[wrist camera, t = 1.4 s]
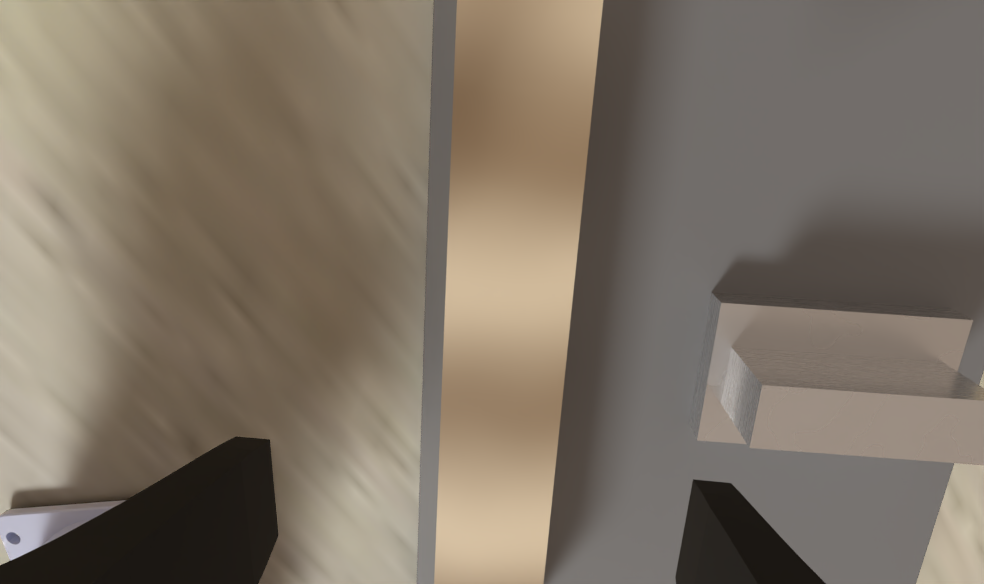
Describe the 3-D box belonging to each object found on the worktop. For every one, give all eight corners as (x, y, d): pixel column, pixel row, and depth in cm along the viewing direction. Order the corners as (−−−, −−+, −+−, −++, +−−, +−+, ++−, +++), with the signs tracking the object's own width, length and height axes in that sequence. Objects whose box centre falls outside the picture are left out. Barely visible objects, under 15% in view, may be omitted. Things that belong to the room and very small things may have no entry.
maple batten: (528, 609, 23) (530, 714, 19) (444, 603, 23) (429, 705, 19) (587, -4, 17) (606, -31, 13) (472, -11, 17) (458, -40, 13)
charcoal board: (879, 627, 24) (894, 650, 23) (420, 591, 24) (415, 612, 23) (1068, 9, 17) (1099, 5, 16) (439, -28, 18) (434, -34, 17)
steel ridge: (912, 440, 20) (989, 509, 17) (688, 423, 20) (721, 489, 17) (950, 308, 19) (1042, 355, 16) (711, 292, 19) (751, 335, 16)
